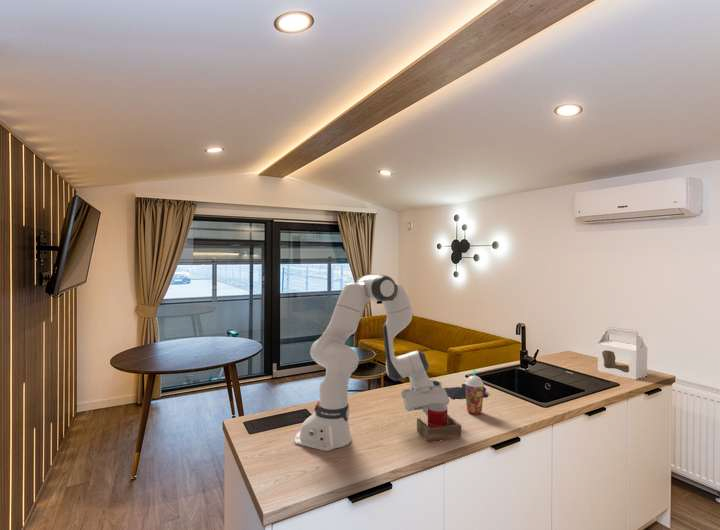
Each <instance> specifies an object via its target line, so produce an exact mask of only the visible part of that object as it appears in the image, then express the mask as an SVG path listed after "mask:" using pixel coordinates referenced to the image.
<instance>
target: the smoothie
mask: <svg viewBox="0 0 720 530" xmlns="http://www.w3.org/2000/svg"><path fill="white" fill-rule="evenodd" d="M464 384H465V387H466V399H465V401H466V410H467V412H468V414H470V415H473V416H478V415H481V413H482V411H483V398H484V397H483V388H484V387H485V386H484V385H485V384H484V382H483V380H482V379H481V377H479V376H478V375H476V369H473V375H470V376H468V377H467V378H466V381H465V382H464Z"/></svg>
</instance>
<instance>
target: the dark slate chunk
mask: <svg viewBox="0 0 720 530" xmlns="http://www.w3.org/2000/svg"><path fill="white" fill-rule="evenodd" d="M443 388H444V389H445V391H446V393H447V395H448V398H449V399H452V400H454V401H455V399H459V400H466V387H465V383H462V384H461V386H455V387H443ZM486 392H487V388H486V387H485V386H484V388H483V398H489V395H488V394H487V393H486ZM486 394H487V395H486Z"/></svg>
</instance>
